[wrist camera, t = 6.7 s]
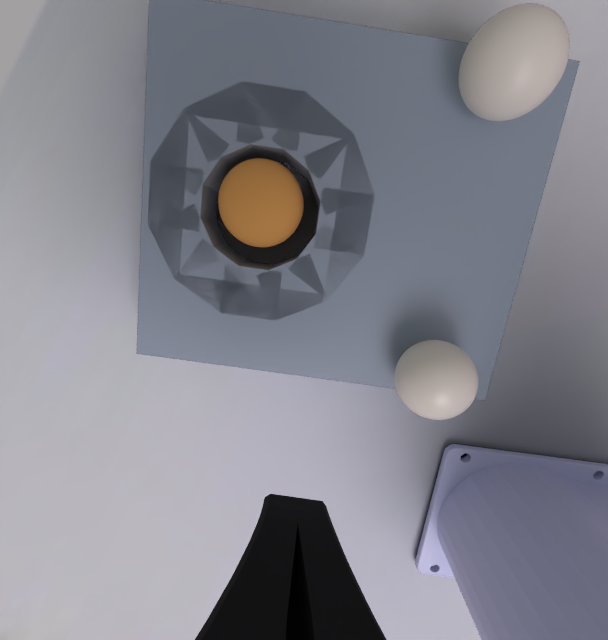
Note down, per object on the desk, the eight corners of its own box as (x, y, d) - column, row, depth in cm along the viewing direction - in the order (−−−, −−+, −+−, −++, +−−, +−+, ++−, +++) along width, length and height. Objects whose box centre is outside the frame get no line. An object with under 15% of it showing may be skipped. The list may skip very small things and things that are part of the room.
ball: (217, 133, 13) (253, 164, 16) (190, 225, 14) (231, 237, 17) (302, 158, 12) (323, 186, 16) (271, 254, 13) (297, 261, 16)
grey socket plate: (535, 89, 15) (579, 61, 13) (460, 378, 18) (484, 400, 16) (175, 31, 15) (149, -9, 12) (159, 337, 18) (136, 353, 15)
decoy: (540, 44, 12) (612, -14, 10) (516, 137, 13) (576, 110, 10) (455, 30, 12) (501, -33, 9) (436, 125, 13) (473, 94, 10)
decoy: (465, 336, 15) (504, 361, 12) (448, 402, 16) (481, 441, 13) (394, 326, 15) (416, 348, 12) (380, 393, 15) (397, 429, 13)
